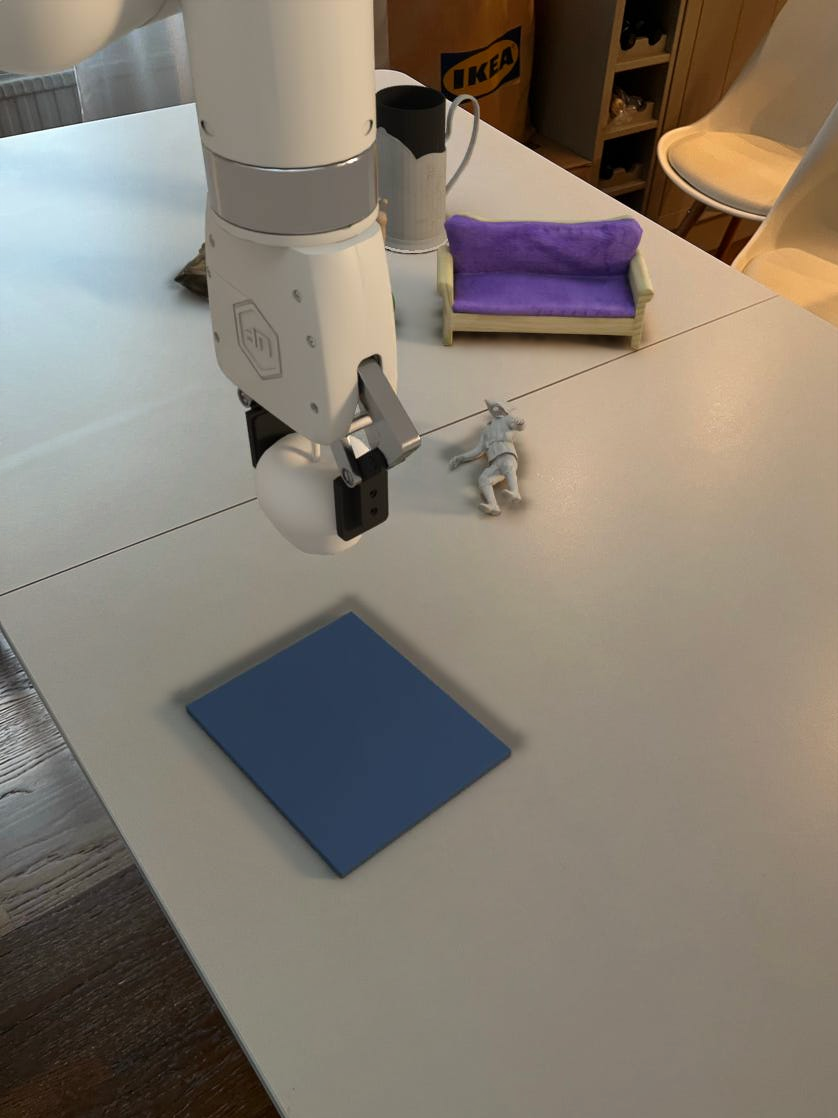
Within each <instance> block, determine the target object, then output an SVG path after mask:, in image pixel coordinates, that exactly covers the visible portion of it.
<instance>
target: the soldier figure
mask: <svg viewBox="0 0 838 1118" xmlns="http://www.w3.org/2000/svg"><path fill="white" fill-rule="evenodd" d="M483 402H485V405H486V407H487V409H488V412H489V413H490V415H491V416H492V417H493V418H491V419H490V420H489V421H488V422H486V425H487V426H486V427H485V428H484V429H483V430H482V433H481V435H480V437H479V440H478V441H477V444H476V445H475V446H474V448H472V449H471V450H469V451H467V452H463V453H461V454H459V455H455V456H453V457H452V458H451V459H450V460H449V462H448V466H451V464H453V463H454V468H457V466H458V464H459V463H460V462H461V463H465V462H468V461H472V460H476V459H479V458H480V457H481V456H484V454H485V455H486V456H487V460H488V466H489V467H486V468H485V469H484V470H483V472H482V473H481V474H480V475H479V476H478V478H477V483H478V490H479V492H480V494H481V495H483V497H484V499H485V500H486V503H483V502H481V503H479V504H478V505H477V509H478V510H479V511H480V512H481V513H483V514H491V515H492V516H499V515H500V514H501V508H500V506H499V504H498V502H497V500H496V496H495V492H494V487H493V486H495V485H496V484H498V483H499V482H502V481H503V480H506V482H507V485H508V488H509V490H508V489H506V488H505V489H502V491H501V493H500V494H501V497H502V498H503V499H504V500H505V501H511V502H512V503H513V504H520V503H522V496H521V494H520V492H519V486H518V485H519V484H518V476H517V470H518V466H519V465H518V463H519V456H518V454H517V451H516V448H515V445H514V436H515V432H523V431H524V430H526V428H527V427H526V421H525V420H524V419H523V418H521V417H518V416H514V414H513V415H512V414H511V412H513V411H515V410H517V407H516V406H515V405H513V404H512V403H510V402H509V401H508V400H503V399H498V398H495V397H490V398H485V399H484V401H483Z"/></svg>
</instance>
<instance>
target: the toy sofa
mask: <svg viewBox="0 0 838 1118" xmlns="http://www.w3.org/2000/svg"><path fill="white" fill-rule="evenodd" d="M444 228H445V230H446V234H447V239H448V242H447V243H448V244H446V245H442V246H440V247H439V249H438V250H436V291H437V293H438V295H439V296H441V297H442V298H443V303H442V344H443V345H444V346H451V345H452V344H453V333H454V332H483V333H484V332H488V333H489V332H490V333H491V332H492V333H531V334H533V333H534V334H571V335H603V336H605V335H606V336H627V339H628V343H629V347H630V349H632V350H639V348H640V345H641V340H642V332H643V325H644V320H645V319H644V318H645V313H646V306H647V304H648V303H650V302H651V301H652V300H653V299H654V297H655V291H654V287H653V283H652V281H651V276H650V274H649V270H648V267H647V263H646V260H645V256H644V254H643V252H642V251H641V250H640V249H639V248H638V247H639V245H640V243H641V240H642V236H643V233H644V229H643V228H642V226H641V224H640V223H639V222H638V219H637V218H636V217H635V215H632V214H631V215H630V214H624V215H618V216H614V217H610V218H604V219H574V220H573V219H572V220H571V219H570V220H569V219H568V220H566V219H563V220H562V219H557V220H553V219H552V220H549V219H547V220H545V219H495V218H494V219H493V218H492V219H491V218H486V217H483V216H479V215H476V214H474V213H472V212H467V211H463V210H456V211H454V212H453V213H452V215H451V217H450V218H448V219H447V220H445V223H444Z"/></svg>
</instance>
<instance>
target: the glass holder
mask: <svg viewBox="0 0 838 1118" xmlns="http://www.w3.org/2000/svg"><path fill="white" fill-rule="evenodd" d="M375 96H376V135H377V170H378V197H379V198H381V200H383V199H386V200H387V201H388V203H387V205H386V216H387V222H386V226H385V232H386V237H385V246H388V247H391V248H395V249H400V250H409V251H415V250H425V249H430V248H433V247H436V246H438V245H440V244H442V243H443V242H444V241H445V240H446V239H447V234H446V230H445V228H444V223H445V222H446V202H447V201H446V199H447V196H448V194H449V192H451V190H452V189H453V188H454V186H455V184H456V183H457V182H458V180H459V179H460V177H461V175H462V174H463V173H464V171H465V170H466V168H467V166H468V164H469V163H470V160H471V158H472V155H473V153H474V150H475V146H476V144H477V143H476V142H477V141H478V135H479V129H480V118H481V112H480V105H479V102H478V100H477V99H476V98H475V97H474V96H473V95H470V94H465V93H463V94H460V95H458V96H457V97H456V98H454V100H453V101H452V102H451V104H450V106H449V108H448V112H447V98H446V95H445V94H444V93H443V92H442V91H440V90H438V89H435V88H432V87H429V86H424V85H418V84H399V85H391V86H387V87H384V88H381V89H380V90H378V91H376V92H375ZM468 99H469V100H470V101H471V103H472V105H473V115H474V117H473V123H472V124H473V125H472V130H471V136H470V140H469V143H468V147H467V149H466V152H465V154H464V157H463V159H462V160H461V163H460V165H459V166H458V168H457V170H456V171H455V173H454V174H453V176H452V177H451V178H450V179H449V181H448V183H447V152H448V149H447V146H446V143H447V142H448V141H449V140H450V139H451V136H452V131H453V120H454V116H455V112H456V110H457V107H458V106H459V105H460V104H461V102H462V101H464V100H468ZM446 115H447V116H446ZM378 205H380V211H382V212H385V205H383V204H382V202H381V203H379V204H378Z"/></svg>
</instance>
